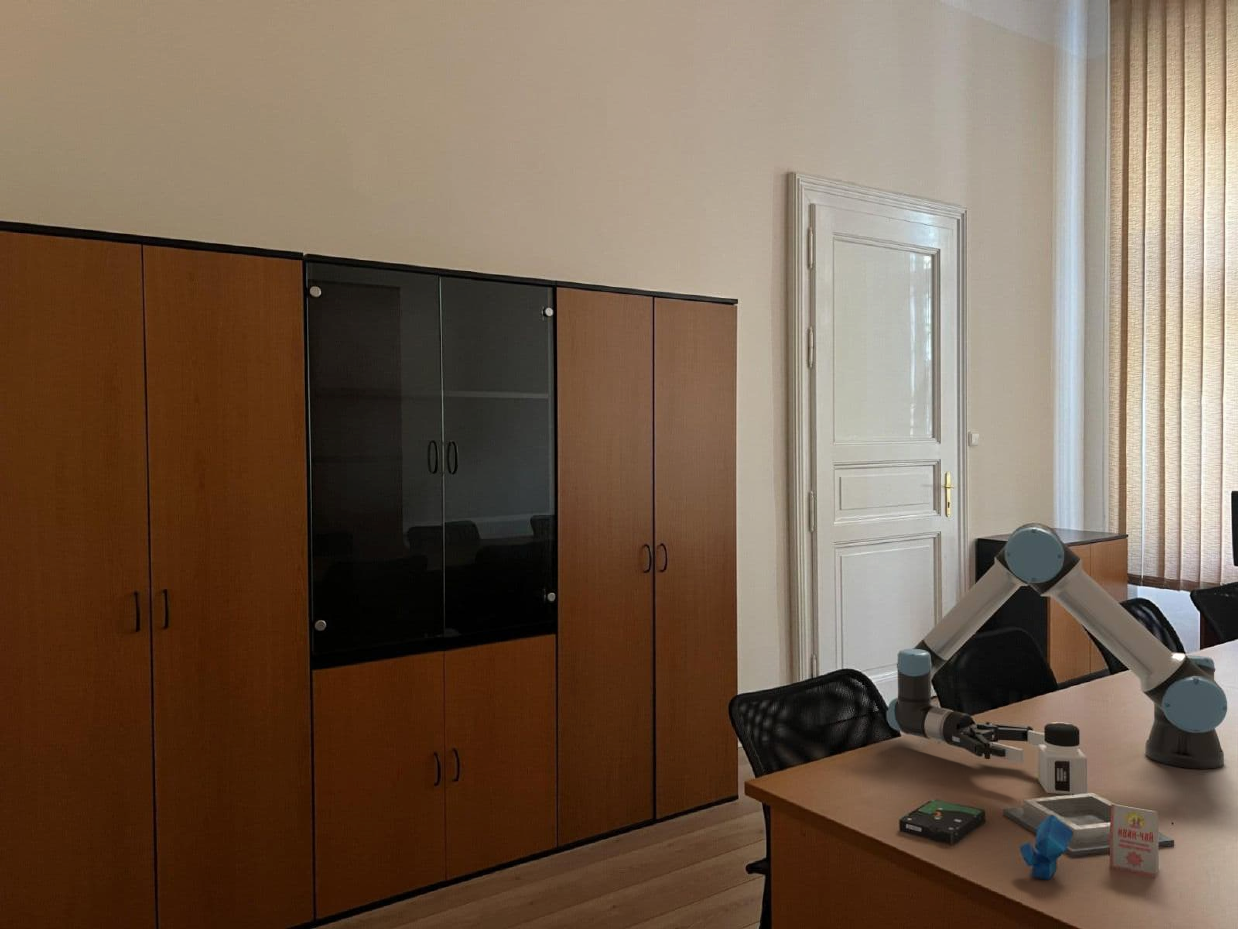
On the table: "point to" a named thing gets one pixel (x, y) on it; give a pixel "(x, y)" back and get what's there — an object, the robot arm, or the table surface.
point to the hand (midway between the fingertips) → (1040, 750)
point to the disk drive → (942, 821)
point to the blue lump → (1047, 847)
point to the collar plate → (1074, 821)
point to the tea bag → (1134, 840)
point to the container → (1062, 760)
